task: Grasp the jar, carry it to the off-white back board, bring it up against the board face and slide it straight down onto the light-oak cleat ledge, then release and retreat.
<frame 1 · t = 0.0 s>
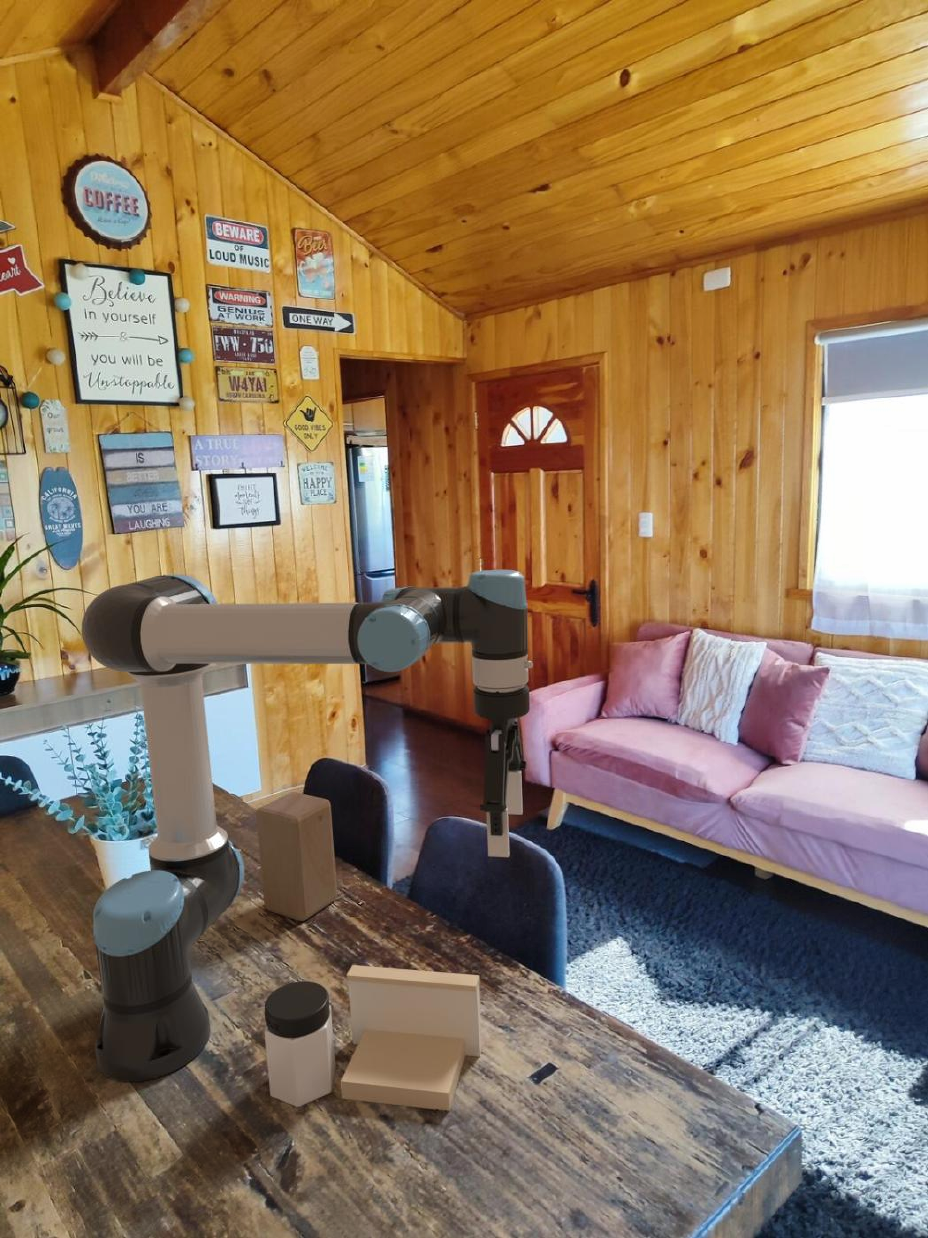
hand: (506, 833, 114), 28 cm above the table, fingers open, 13 cm apart
cleat board: (411, 1060, 111), on the table
jar: (303, 1084, 107), on the table
wooden block: (301, 906, 153), on the table
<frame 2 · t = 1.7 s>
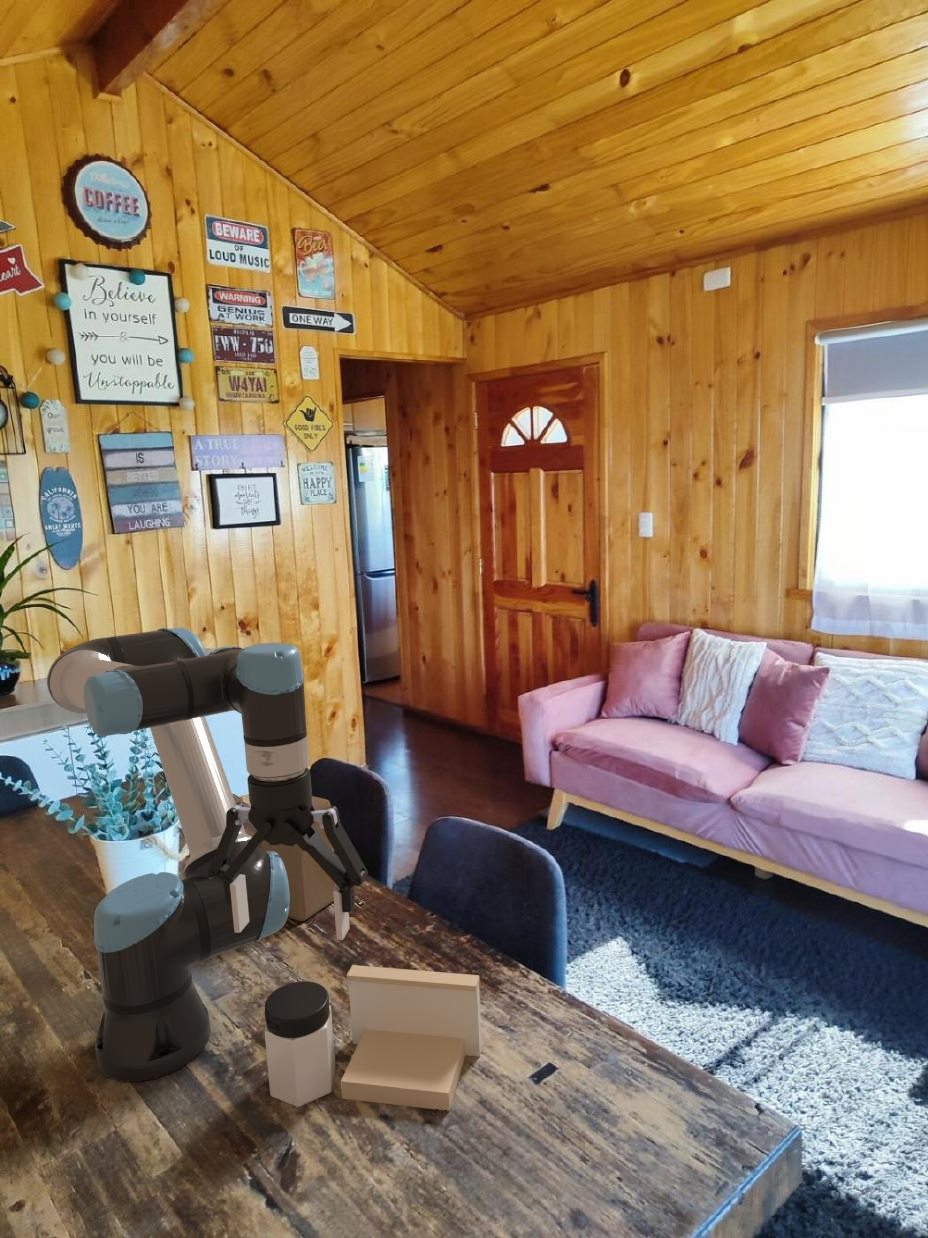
hand: (292, 930, 104), 22 cm above the table, fingers open, 13 cm apart
nothing on the table moved.
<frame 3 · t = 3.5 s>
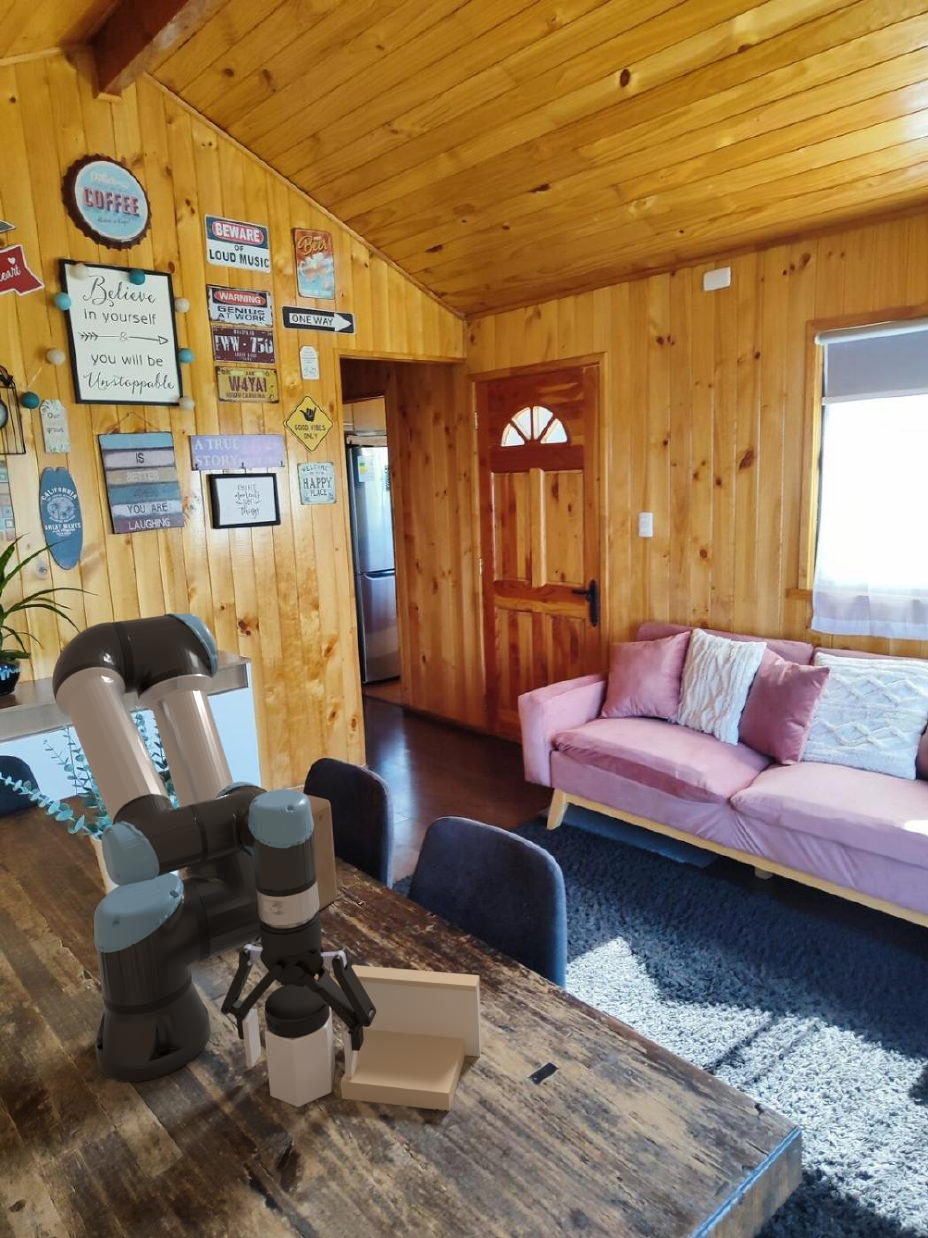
hand: (302, 1065, 107), 3 cm above the table, fingers open, 13 cm apart
nothing on the table moved.
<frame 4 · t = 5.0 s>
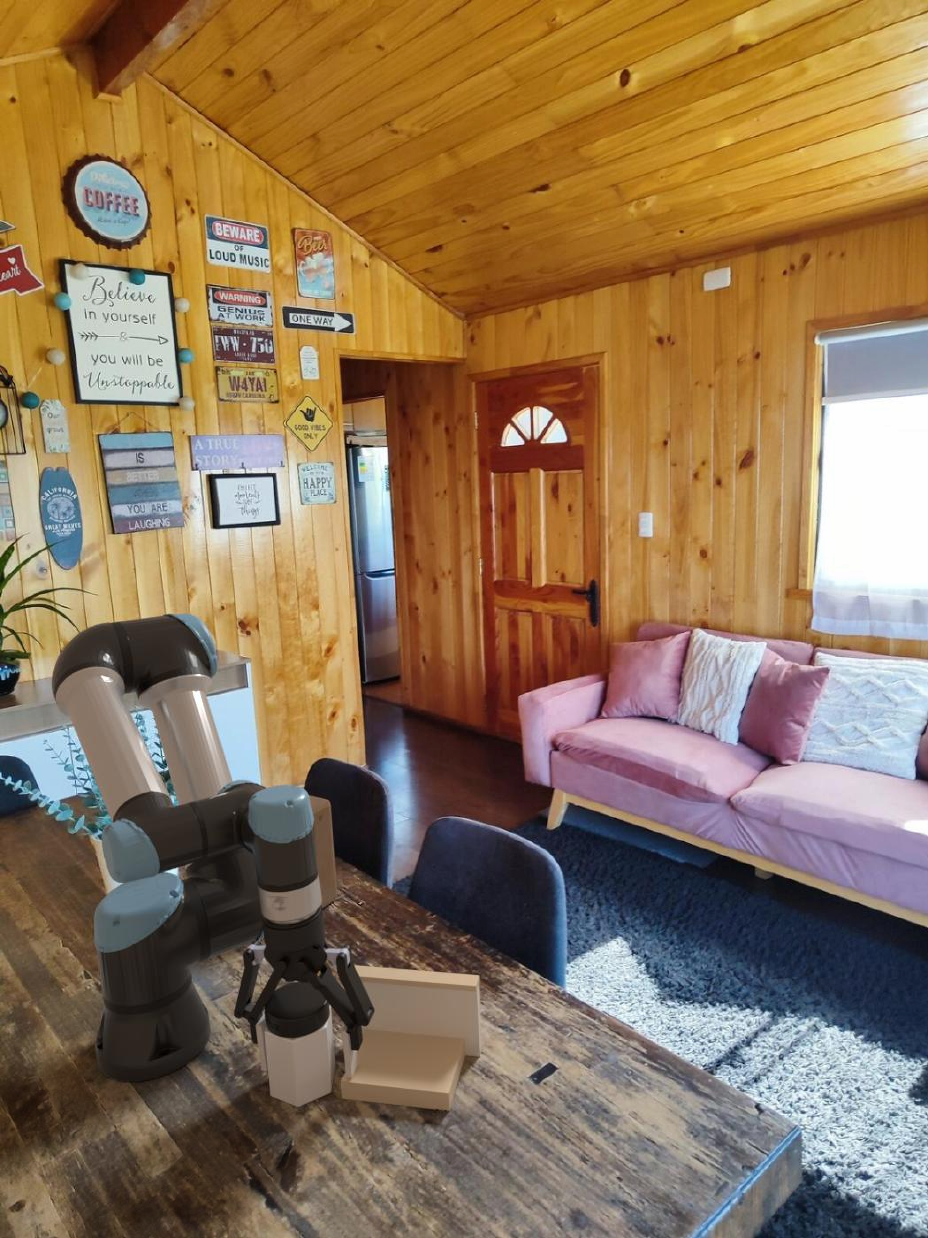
hand: (310, 1067, 107), 3 cm above the table, fingers open, 11 cm apart
jar: (303, 1084, 107), on the table, touching gripper
everything else where it was.
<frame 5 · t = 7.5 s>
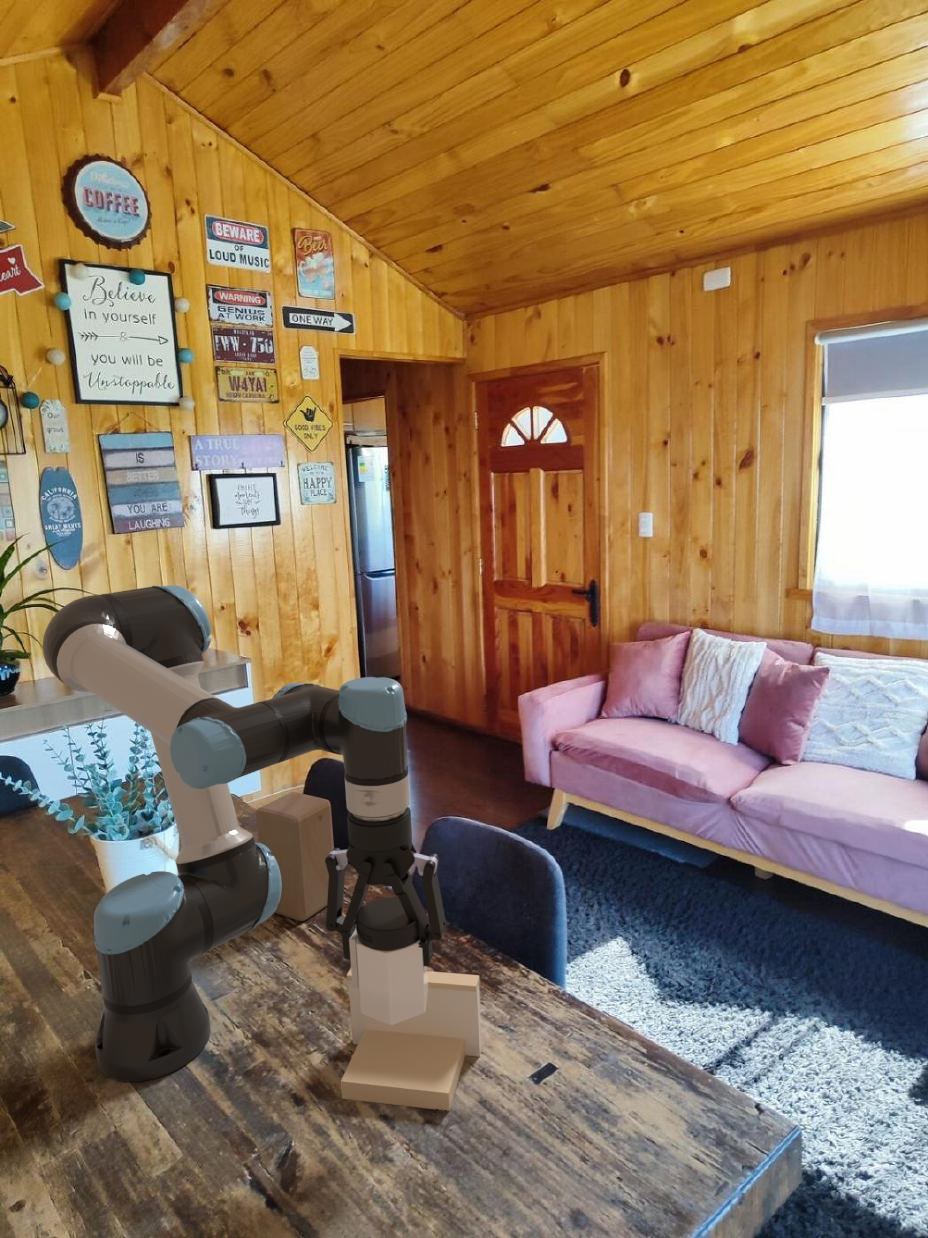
hand: (389, 984, 101), 16 cm above the table, fingers closed on jar, 7 cm apart
jar: (395, 1004, 101), point 13 cm above the table, touching gripper
everything else where it was.
when the fingers open (5 cm above the table, at t = 10.0 s): jar stays where it is, resting on cleat board.
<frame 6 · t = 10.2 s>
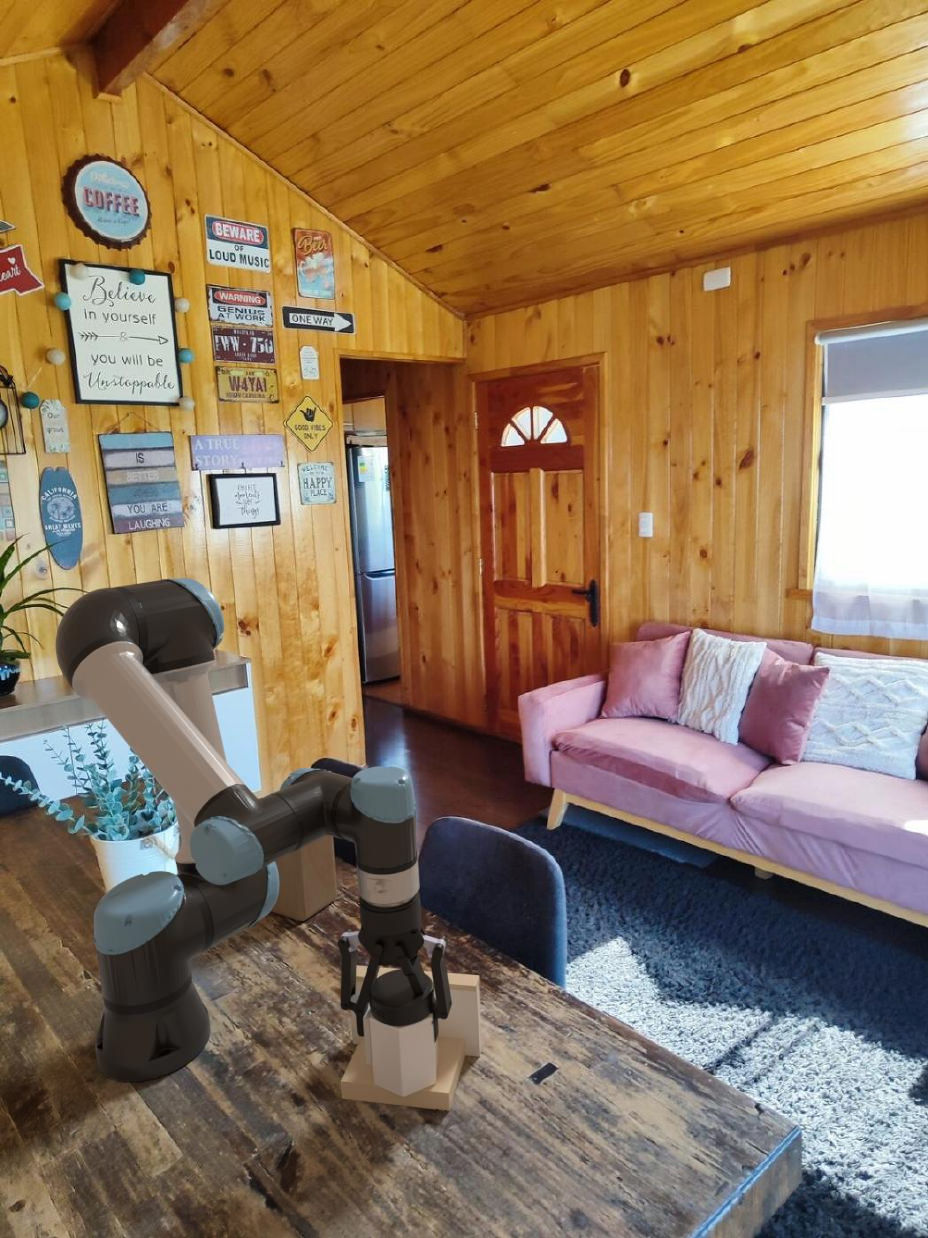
hand: (399, 1059, 105), 4 cm above the table, fingers open, 7 cm apart
jar: (406, 1073, 105), point 2 cm above the table, touching cleat board, gripper
everything else where it was.
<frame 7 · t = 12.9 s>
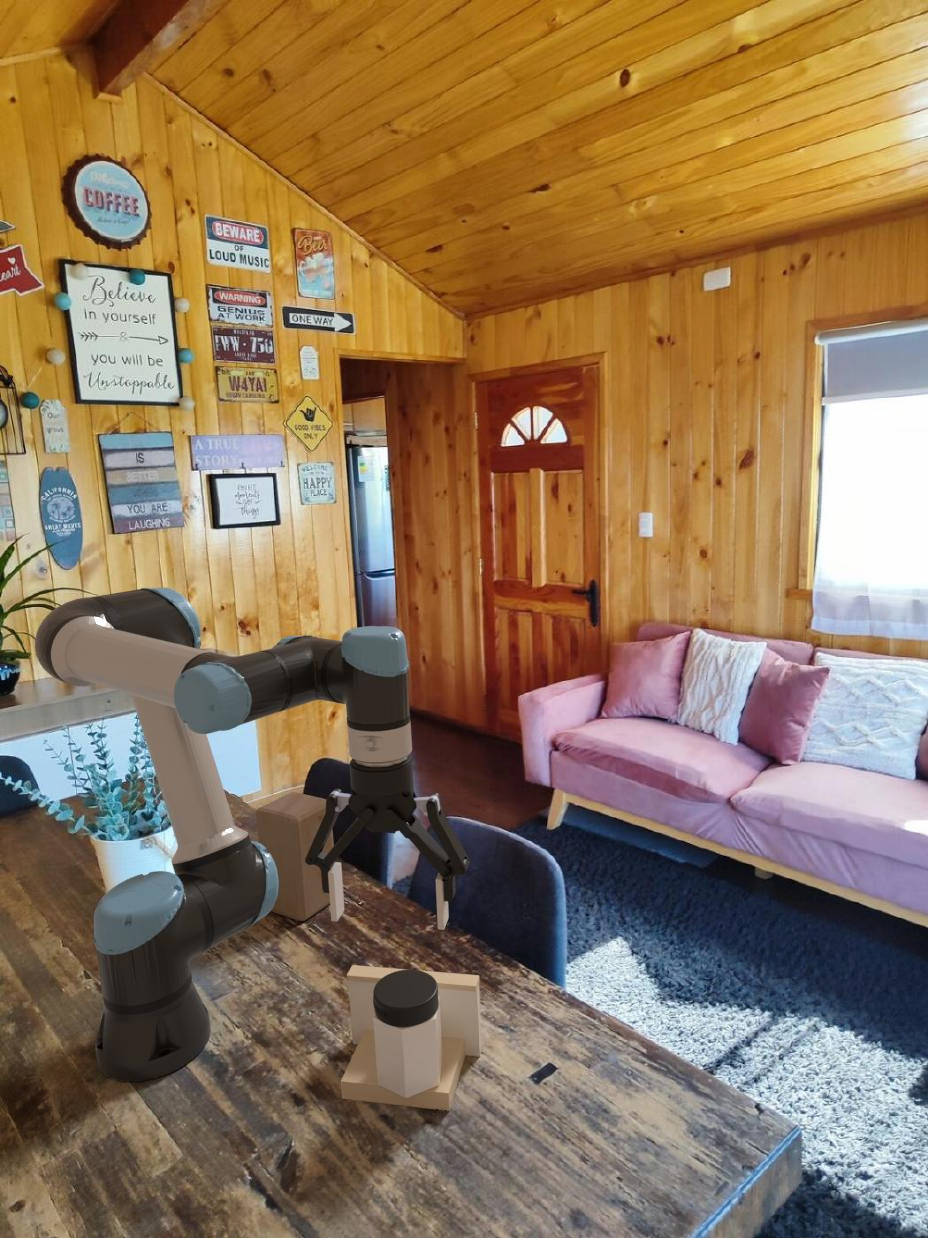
hand: (389, 920, 102), 23 cm above the table, fingers open, 13 cm apart
jar: (410, 1074, 105), point 2 cm above the table, touching cleat board
everything else where it was.
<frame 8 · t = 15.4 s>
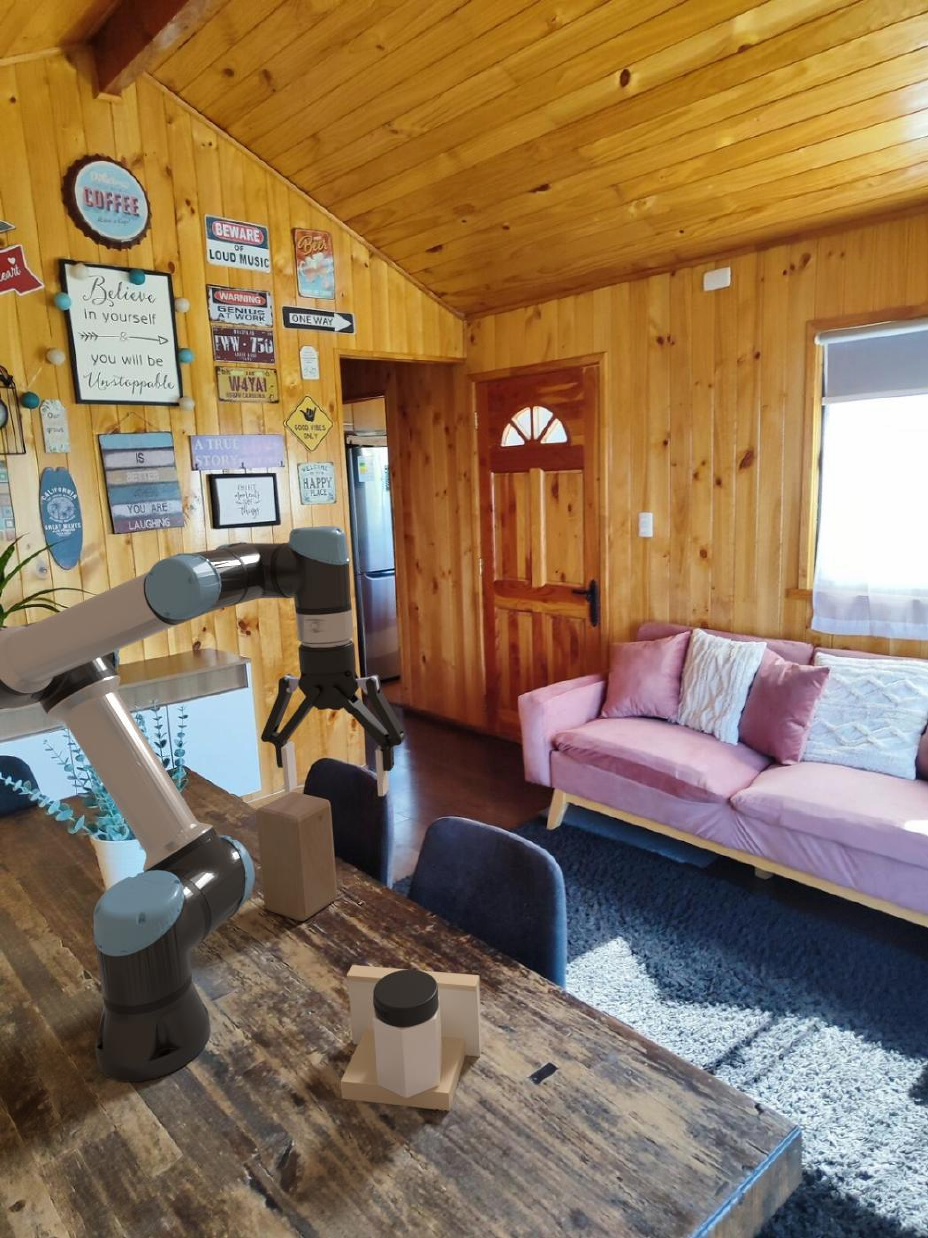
hand: (336, 791, 115), 35 cm above the table, fingers open, 13 cm apart
nothing on the table moved.
at the end: jar inside the target area on the cleat board (1.7 cm from its centre), point 2.3 cm above the cleat board's base; jar tilted 0°; the gripper is holding nothing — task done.
